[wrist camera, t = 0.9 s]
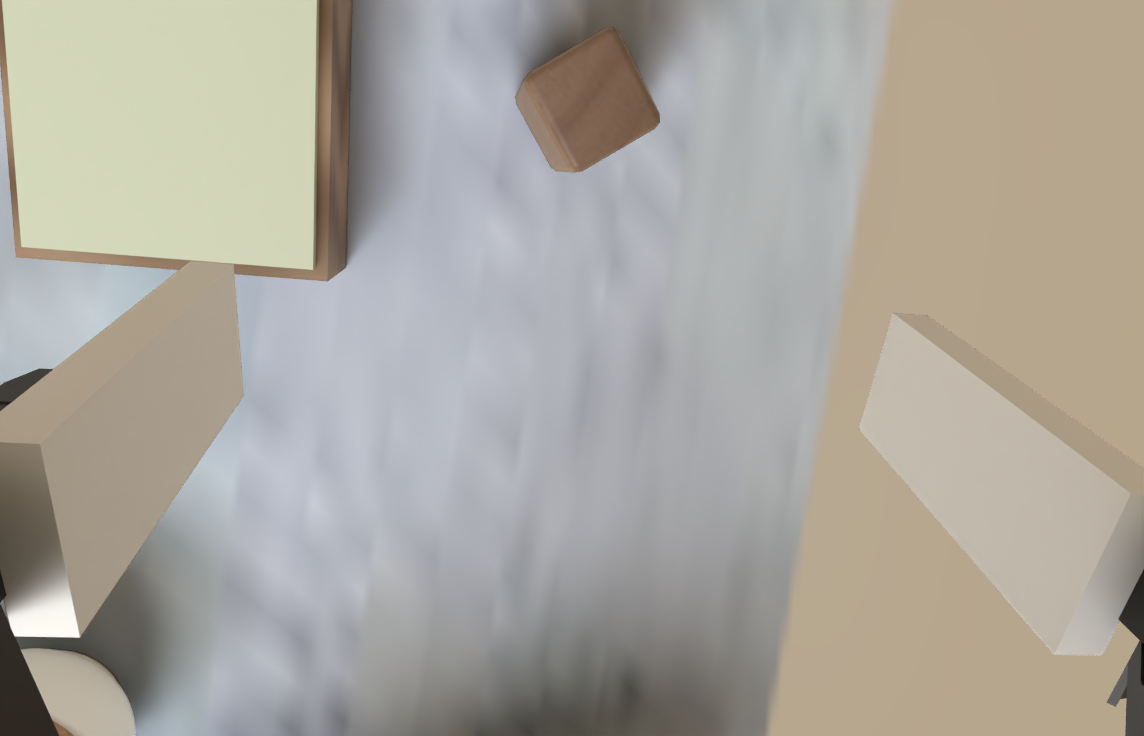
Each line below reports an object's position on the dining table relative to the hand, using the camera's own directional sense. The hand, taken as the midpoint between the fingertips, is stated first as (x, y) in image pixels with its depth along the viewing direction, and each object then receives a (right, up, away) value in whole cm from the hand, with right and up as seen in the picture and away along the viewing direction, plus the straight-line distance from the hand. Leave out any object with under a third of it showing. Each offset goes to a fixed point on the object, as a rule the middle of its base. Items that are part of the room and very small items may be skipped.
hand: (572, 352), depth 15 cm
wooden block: (0, +12, +21) cm, 24 cm away
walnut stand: (-16, +14, +18) cm, 28 cm away
